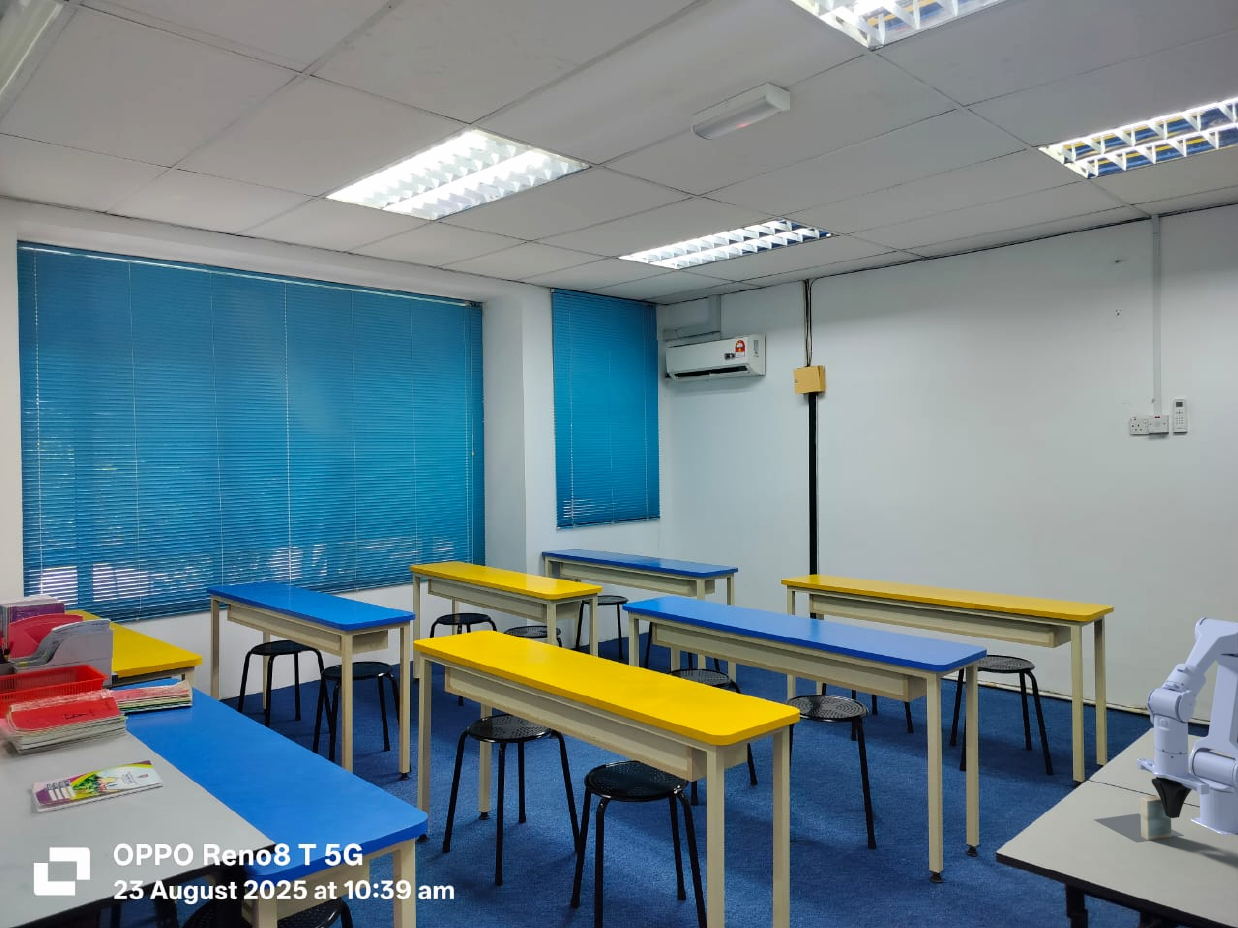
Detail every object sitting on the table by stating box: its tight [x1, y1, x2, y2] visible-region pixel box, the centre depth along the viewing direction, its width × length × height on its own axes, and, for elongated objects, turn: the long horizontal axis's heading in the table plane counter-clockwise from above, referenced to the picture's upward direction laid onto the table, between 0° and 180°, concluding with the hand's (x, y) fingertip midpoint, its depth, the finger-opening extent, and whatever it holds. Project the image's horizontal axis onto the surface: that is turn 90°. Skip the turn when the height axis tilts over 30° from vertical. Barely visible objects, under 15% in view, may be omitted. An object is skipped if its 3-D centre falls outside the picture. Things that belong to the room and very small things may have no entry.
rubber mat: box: [1093, 813, 1185, 843], centre depth 170 cm, size 12×11×1 cm
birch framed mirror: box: [1139, 795, 1173, 841], centre depth 166 cm, size 6×2×8 cm, turn 103°
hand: (1172, 816), depth 162 cm, fingers closed
